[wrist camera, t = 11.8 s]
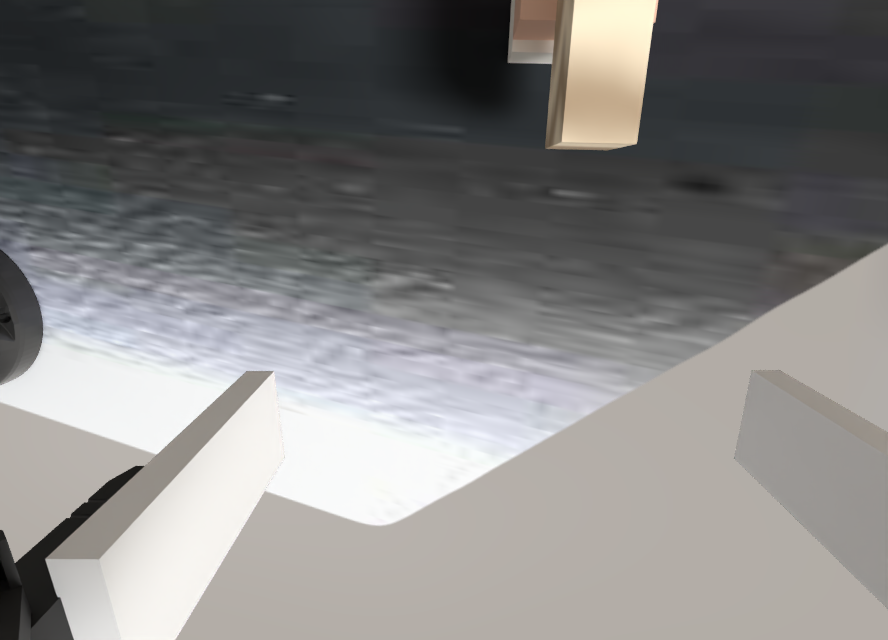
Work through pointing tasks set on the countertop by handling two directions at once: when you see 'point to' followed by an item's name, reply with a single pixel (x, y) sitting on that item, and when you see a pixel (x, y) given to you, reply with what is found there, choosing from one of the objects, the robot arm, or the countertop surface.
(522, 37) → the block
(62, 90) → the countertop surface
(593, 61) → the bar
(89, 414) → the countertop surface
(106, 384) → the countertop surface
